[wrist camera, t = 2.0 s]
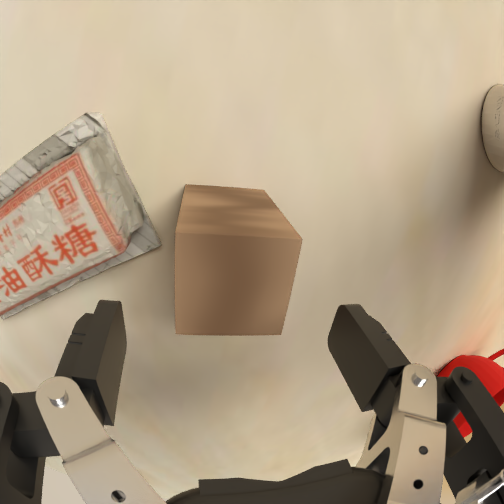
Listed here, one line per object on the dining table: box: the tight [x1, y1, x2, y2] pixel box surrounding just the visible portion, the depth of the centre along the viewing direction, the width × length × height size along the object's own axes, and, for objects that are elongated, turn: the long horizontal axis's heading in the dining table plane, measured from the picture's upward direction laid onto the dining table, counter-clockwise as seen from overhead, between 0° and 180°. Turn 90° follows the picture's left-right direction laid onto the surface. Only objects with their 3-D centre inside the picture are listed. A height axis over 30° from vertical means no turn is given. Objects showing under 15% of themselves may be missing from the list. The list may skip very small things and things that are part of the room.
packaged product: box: [0, 112, 162, 319], centre depth 16 cm, size 18×5×10 cm
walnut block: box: [175, 184, 302, 335], centre depth 16 cm, size 5×5×8 cm
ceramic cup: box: [437, 349, 504, 438], centre depth 30 cm, size 13×17×10 cm
